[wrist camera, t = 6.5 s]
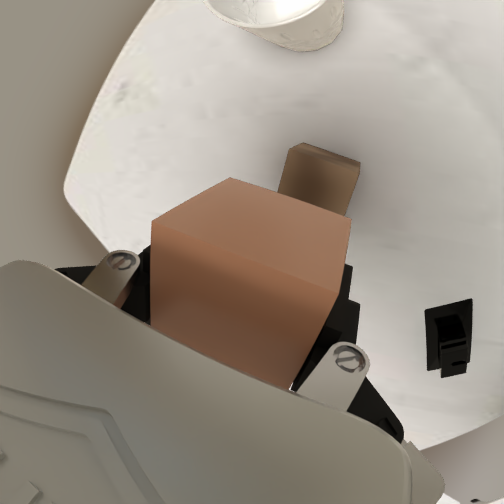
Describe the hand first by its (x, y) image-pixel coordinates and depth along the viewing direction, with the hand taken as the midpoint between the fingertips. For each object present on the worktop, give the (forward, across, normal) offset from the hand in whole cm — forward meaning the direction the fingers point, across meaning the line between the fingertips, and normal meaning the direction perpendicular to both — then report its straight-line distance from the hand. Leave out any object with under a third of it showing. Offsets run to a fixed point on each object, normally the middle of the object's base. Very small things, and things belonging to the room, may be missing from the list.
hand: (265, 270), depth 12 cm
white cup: (+15, +5, -14) cm, 21 cm away
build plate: (+16, -19, +10) cm, 26 cm away
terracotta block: (+1, 0, 0) cm, 1 cm away
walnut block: (+15, 0, 0) cm, 15 cm away
